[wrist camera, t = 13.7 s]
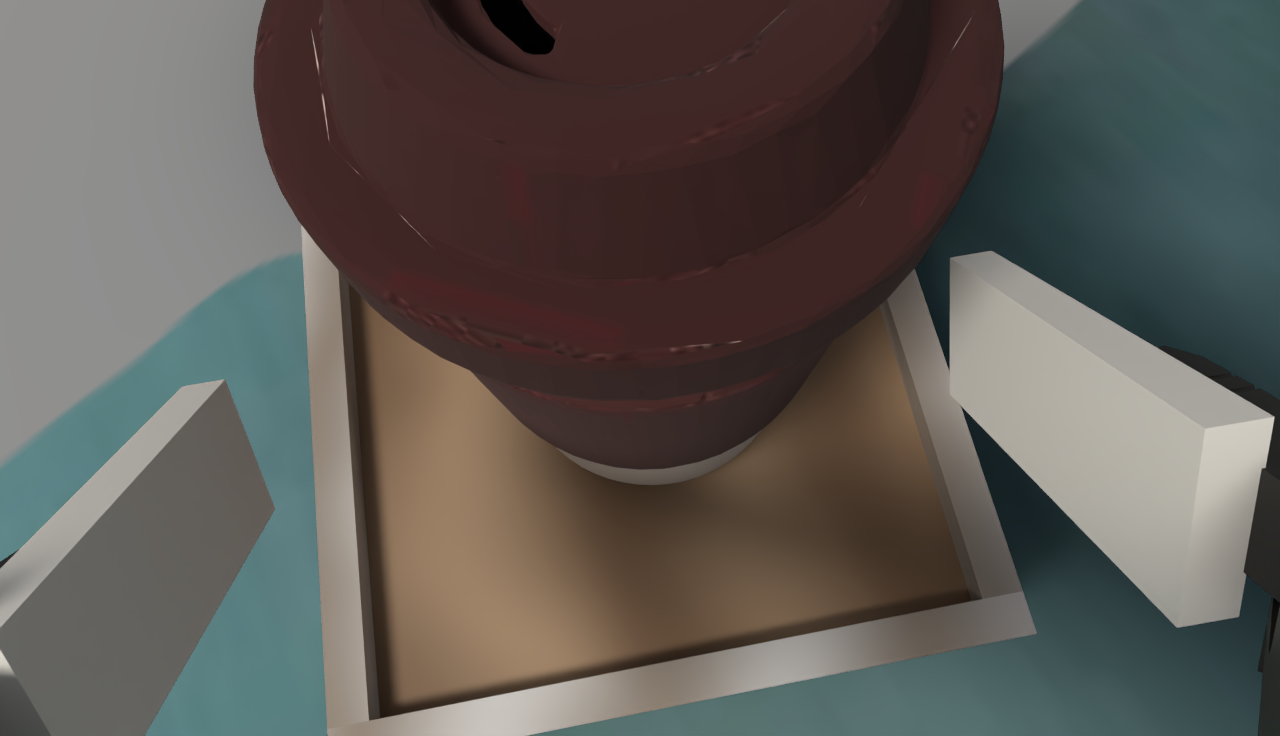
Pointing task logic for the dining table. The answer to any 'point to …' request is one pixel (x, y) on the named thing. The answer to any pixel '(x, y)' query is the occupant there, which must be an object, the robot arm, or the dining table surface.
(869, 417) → the shallow square tray
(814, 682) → the dining table surface
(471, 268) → the coffee cup
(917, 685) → the dining table surface
